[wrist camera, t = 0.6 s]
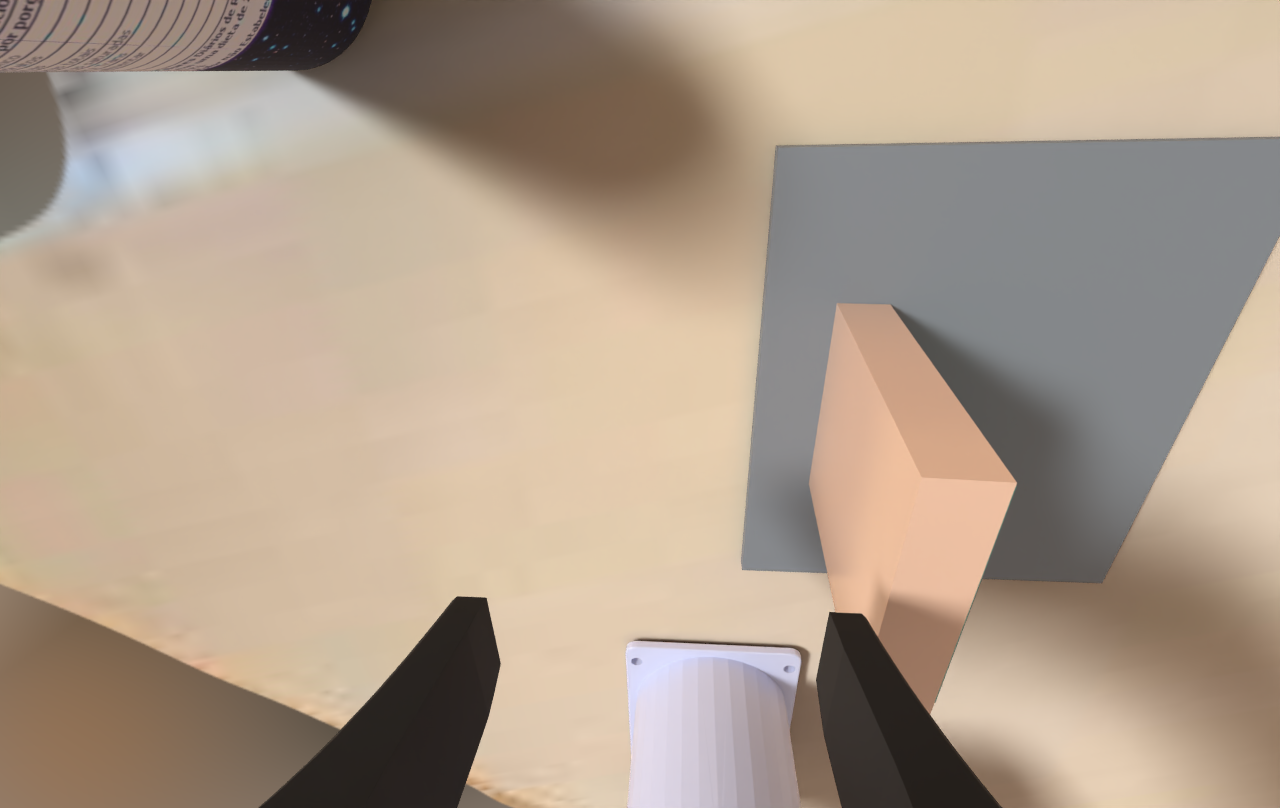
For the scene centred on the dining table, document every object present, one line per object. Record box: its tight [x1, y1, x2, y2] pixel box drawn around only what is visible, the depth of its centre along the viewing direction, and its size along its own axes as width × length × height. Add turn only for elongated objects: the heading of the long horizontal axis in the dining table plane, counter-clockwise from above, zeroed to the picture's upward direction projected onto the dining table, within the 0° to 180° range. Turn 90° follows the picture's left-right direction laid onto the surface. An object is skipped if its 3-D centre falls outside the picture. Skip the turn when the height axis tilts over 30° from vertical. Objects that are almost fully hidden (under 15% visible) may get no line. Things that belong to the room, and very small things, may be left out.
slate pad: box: [741, 137, 1280, 583], centre depth 20 cm, size 16×14×1 cm
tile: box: [809, 303, 1017, 714], centre depth 16 cm, size 7×2×9 cm, turn 1°
